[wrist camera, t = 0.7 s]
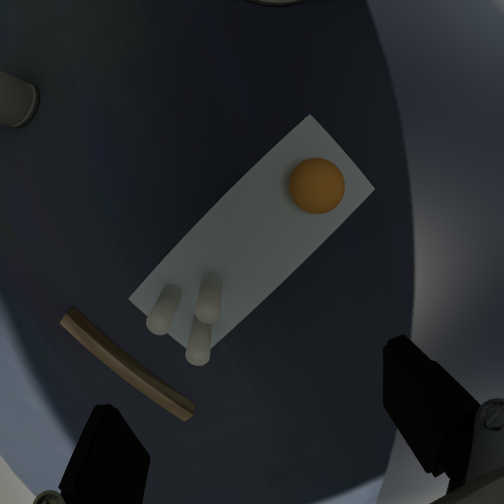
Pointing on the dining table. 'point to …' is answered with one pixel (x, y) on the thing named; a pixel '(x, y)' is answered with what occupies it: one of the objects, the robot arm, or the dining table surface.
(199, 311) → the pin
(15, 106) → the travel mug
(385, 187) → the dining table surface
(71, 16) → the dining table surface
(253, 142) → the dining table surface
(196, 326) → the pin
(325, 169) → the ball
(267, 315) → the dining table surface
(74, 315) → the back wall
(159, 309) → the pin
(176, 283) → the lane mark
